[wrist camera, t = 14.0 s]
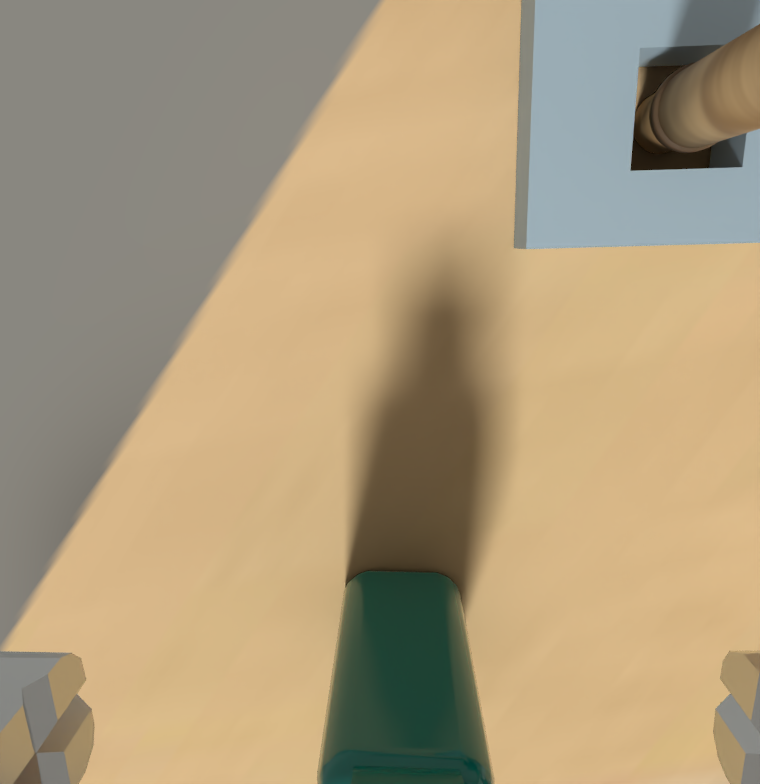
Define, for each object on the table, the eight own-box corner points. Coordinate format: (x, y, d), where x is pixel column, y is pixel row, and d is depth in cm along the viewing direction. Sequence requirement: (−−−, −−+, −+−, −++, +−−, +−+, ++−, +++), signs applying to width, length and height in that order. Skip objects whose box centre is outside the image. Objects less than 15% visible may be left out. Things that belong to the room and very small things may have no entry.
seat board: (830, -21, 32) (882, -52, 28) (791, 240, 35) (833, 240, 32) (521, -8, 32) (536, -37, 29) (513, 248, 36) (526, 248, 32)
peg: (703, 81, 33) (914, -30, 20) (694, 160, 34) (889, 107, 21) (628, 84, 33) (786, -24, 20) (622, 162, 34) (768, 111, 21)
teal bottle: (455, 667, 44) (511, 1068, 23) (345, 664, 44) (297, 1059, 23) (461, 553, 41) (531, 882, 20) (344, 550, 42) (291, 873, 20)
